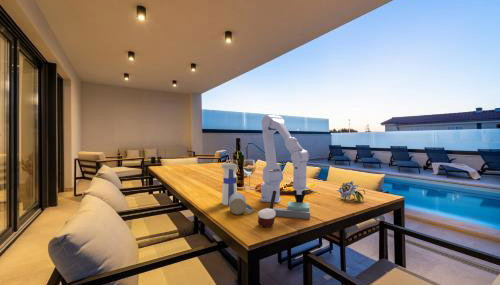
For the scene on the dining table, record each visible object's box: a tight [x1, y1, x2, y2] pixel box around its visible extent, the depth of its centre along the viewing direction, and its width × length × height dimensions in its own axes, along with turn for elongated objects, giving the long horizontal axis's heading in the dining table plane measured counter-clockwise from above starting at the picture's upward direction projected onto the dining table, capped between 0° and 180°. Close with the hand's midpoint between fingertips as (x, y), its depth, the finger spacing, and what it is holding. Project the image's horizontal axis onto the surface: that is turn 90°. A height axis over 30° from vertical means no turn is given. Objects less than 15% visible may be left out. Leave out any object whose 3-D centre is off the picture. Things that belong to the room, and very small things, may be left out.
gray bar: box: [273, 207, 311, 220], centre depth 92 cm, size 15×2×2 cm, turn 76°
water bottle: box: [221, 152, 239, 206], centre depth 110 cm, size 8×9×25 cm
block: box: [286, 201, 310, 211], centre depth 96 cm, size 9×7×4 cm
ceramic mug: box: [228, 192, 254, 216], centre depth 97 cm, size 11×8×8 cm
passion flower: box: [336, 180, 366, 203], centre depth 119 cm, size 11×11×12 cm
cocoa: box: [257, 191, 276, 228], centre depth 82 cm, size 10×6×12 cm, turn 113°
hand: (299, 206), depth 101 cm, fingers closed
